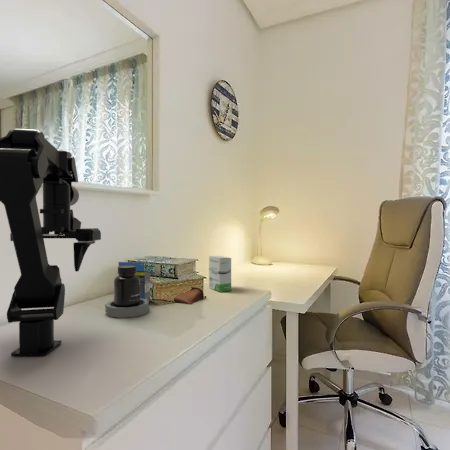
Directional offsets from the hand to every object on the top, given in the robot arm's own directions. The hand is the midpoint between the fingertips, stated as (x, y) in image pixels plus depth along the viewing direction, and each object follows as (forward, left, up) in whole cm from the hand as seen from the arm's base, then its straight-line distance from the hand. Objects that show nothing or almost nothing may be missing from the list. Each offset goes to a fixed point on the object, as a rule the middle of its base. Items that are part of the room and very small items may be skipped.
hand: (57, 271), depth 78 cm
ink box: (+40, -38, -13) cm, 57 cm away
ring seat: (+12, -13, -13) cm, 22 cm away
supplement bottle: (+12, -13, -13) cm, 22 cm away
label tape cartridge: (+23, -12, -13) cm, 29 cm away
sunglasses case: (+27, -23, -14) cm, 38 cm away
